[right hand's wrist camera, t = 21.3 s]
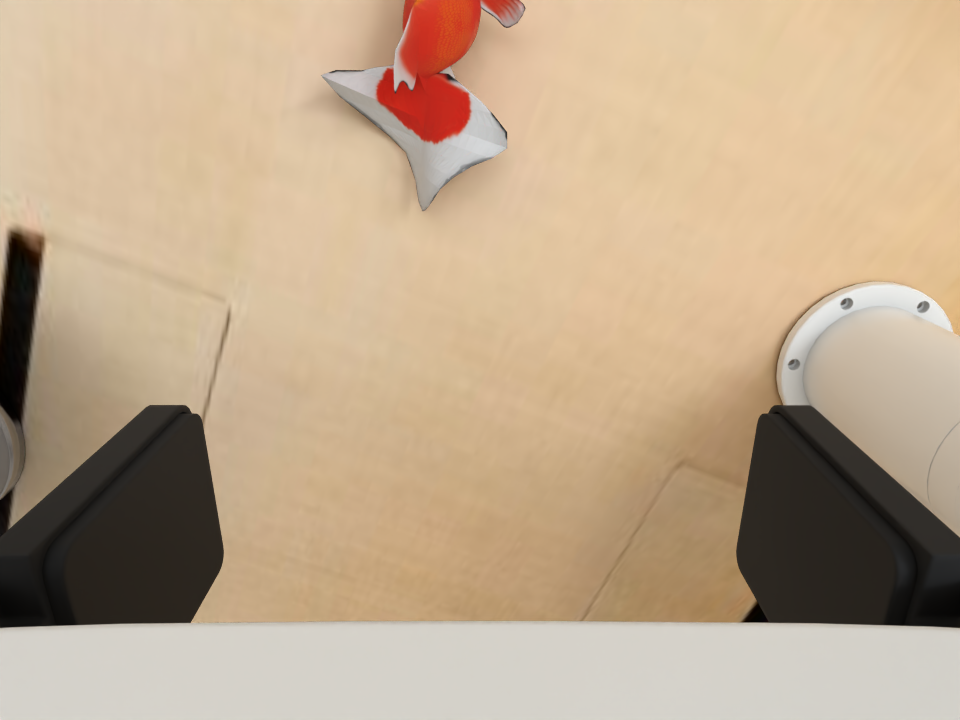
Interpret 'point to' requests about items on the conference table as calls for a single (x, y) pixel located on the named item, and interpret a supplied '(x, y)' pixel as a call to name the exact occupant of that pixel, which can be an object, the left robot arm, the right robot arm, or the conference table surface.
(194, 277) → the conference table surface
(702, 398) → the conference table surface
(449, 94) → the fish
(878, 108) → the conference table surface
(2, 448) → the left robot arm
